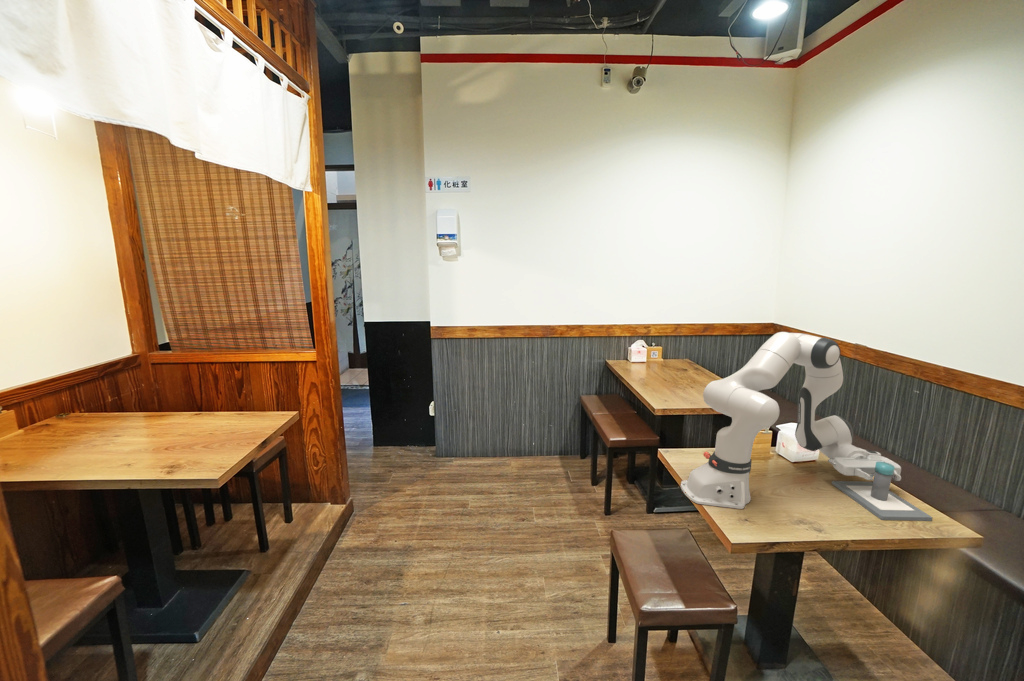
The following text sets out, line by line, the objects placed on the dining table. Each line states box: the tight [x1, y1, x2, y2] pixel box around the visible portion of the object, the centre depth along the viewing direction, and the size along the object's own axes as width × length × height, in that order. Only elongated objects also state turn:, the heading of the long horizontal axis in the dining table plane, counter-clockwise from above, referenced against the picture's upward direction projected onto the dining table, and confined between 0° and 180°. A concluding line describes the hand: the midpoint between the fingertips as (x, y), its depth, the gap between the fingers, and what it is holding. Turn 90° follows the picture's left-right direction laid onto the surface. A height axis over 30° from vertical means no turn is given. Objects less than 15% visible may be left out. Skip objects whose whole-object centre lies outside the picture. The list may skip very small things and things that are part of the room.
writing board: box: [831, 480, 934, 522], centre depth 148 cm, size 16×22×1 cm
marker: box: [871, 462, 895, 501], centre depth 147 cm, size 5×5×12 cm
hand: (884, 478), depth 146 cm, fingers open, 8 cm apart
